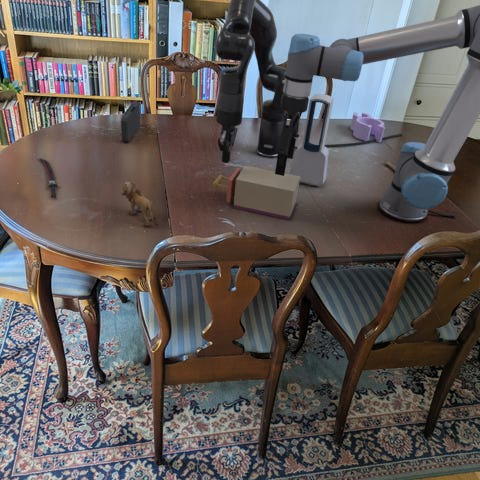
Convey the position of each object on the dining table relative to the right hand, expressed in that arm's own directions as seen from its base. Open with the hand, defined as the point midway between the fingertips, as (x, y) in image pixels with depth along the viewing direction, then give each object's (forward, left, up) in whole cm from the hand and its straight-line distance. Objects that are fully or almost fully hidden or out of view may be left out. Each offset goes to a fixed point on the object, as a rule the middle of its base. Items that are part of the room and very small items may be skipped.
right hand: (284, 166), depth 140 cm
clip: (-52, -74, -15) cm, 91 cm away
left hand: (+17, -6, -3) cm, 18 cm away
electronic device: (-14, -21, -15) cm, 29 cm away
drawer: (+9, -4, -14) cm, 17 cm away
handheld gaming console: (+52, -58, -15) cm, 79 cm away
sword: (+74, -14, -15) cm, 77 cm away
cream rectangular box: (+4, -1, -15) cm, 15 cm away
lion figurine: (+42, +8, -15) cm, 46 cm away
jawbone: (-57, -33, -15) cm, 67 cm away
